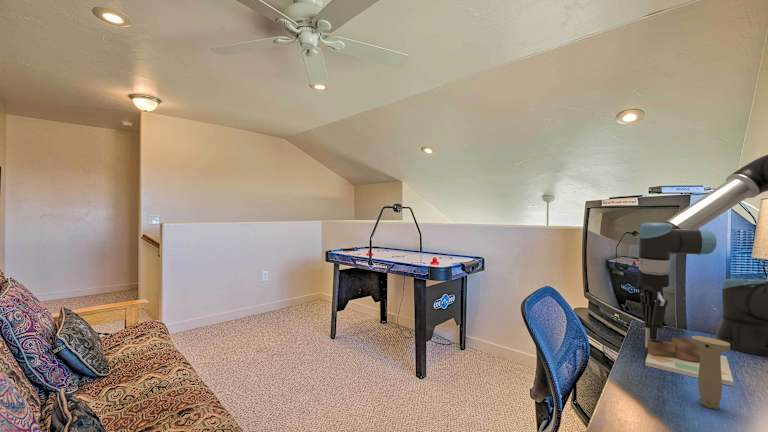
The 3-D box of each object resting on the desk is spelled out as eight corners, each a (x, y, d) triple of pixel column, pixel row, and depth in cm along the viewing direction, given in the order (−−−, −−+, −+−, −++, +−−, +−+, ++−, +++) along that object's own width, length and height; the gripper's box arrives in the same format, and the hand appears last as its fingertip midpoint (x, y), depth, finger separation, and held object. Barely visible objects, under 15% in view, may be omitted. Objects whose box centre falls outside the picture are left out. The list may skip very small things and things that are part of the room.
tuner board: (726, 360, 104) (726, 356, 104) (733, 386, 88) (733, 381, 88) (651, 345, 116) (651, 341, 116) (645, 365, 100) (645, 361, 100)
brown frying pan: (693, 353, 105) (693, 338, 105) (708, 363, 99) (708, 346, 99) (644, 349, 109) (644, 334, 109) (655, 357, 102) (655, 341, 102)
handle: (726, 416, 75) (727, 347, 75) (687, 402, 80) (688, 338, 80) (731, 409, 77) (732, 342, 77) (694, 396, 83) (695, 334, 83)
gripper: (630, 268, 113) (628, 338, 114) (648, 275, 101) (646, 354, 102) (657, 269, 111) (655, 341, 112) (679, 277, 99) (676, 358, 100)
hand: (651, 347), depth 107 cm, fingers closed
